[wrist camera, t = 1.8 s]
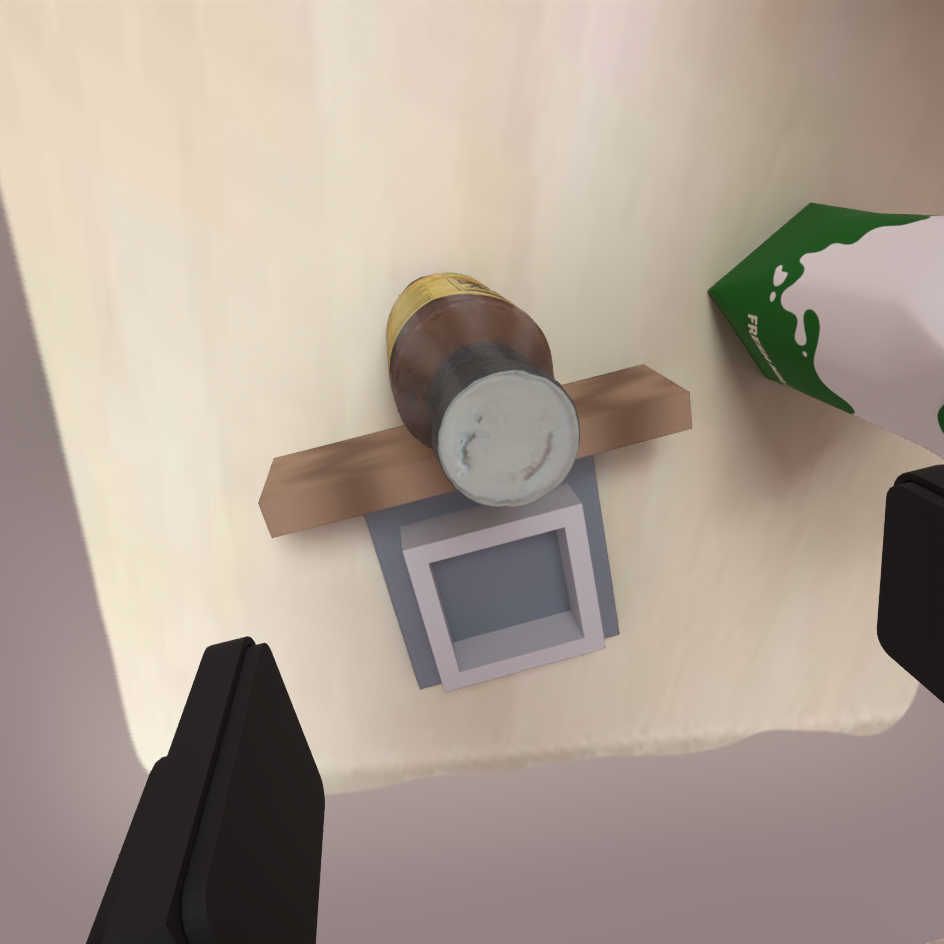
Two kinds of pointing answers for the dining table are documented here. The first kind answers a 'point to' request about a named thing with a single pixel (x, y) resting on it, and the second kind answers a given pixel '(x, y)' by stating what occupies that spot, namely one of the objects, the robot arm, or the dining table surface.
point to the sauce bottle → (480, 390)
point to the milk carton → (849, 314)
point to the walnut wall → (418, 471)
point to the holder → (497, 580)
